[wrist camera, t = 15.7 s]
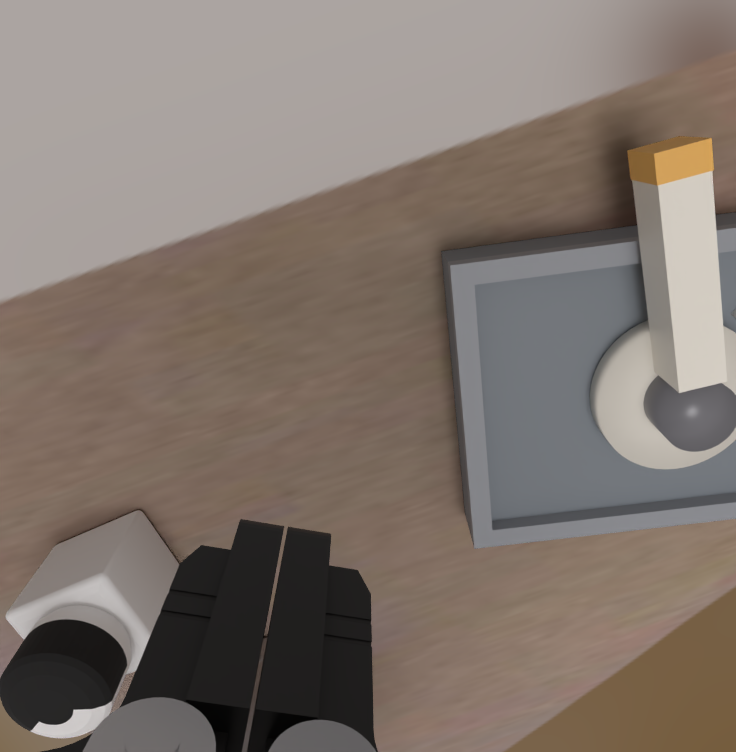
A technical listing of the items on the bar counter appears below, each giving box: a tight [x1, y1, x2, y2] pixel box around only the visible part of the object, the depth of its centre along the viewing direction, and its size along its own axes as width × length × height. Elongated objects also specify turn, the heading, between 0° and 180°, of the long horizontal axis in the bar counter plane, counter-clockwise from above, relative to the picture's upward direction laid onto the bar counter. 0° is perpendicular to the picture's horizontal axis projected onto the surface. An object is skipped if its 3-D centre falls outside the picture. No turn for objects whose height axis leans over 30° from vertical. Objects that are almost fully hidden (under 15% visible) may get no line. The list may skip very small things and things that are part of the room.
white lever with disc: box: [590, 136, 736, 469], centre depth 34 cm, size 18×9×5 cm, turn 15°
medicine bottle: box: [0, 510, 179, 738], centre depth 40 cm, size 7×7×12 cm
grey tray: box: [441, 212, 736, 549], centre depth 39 cm, size 18×24×4 cm
